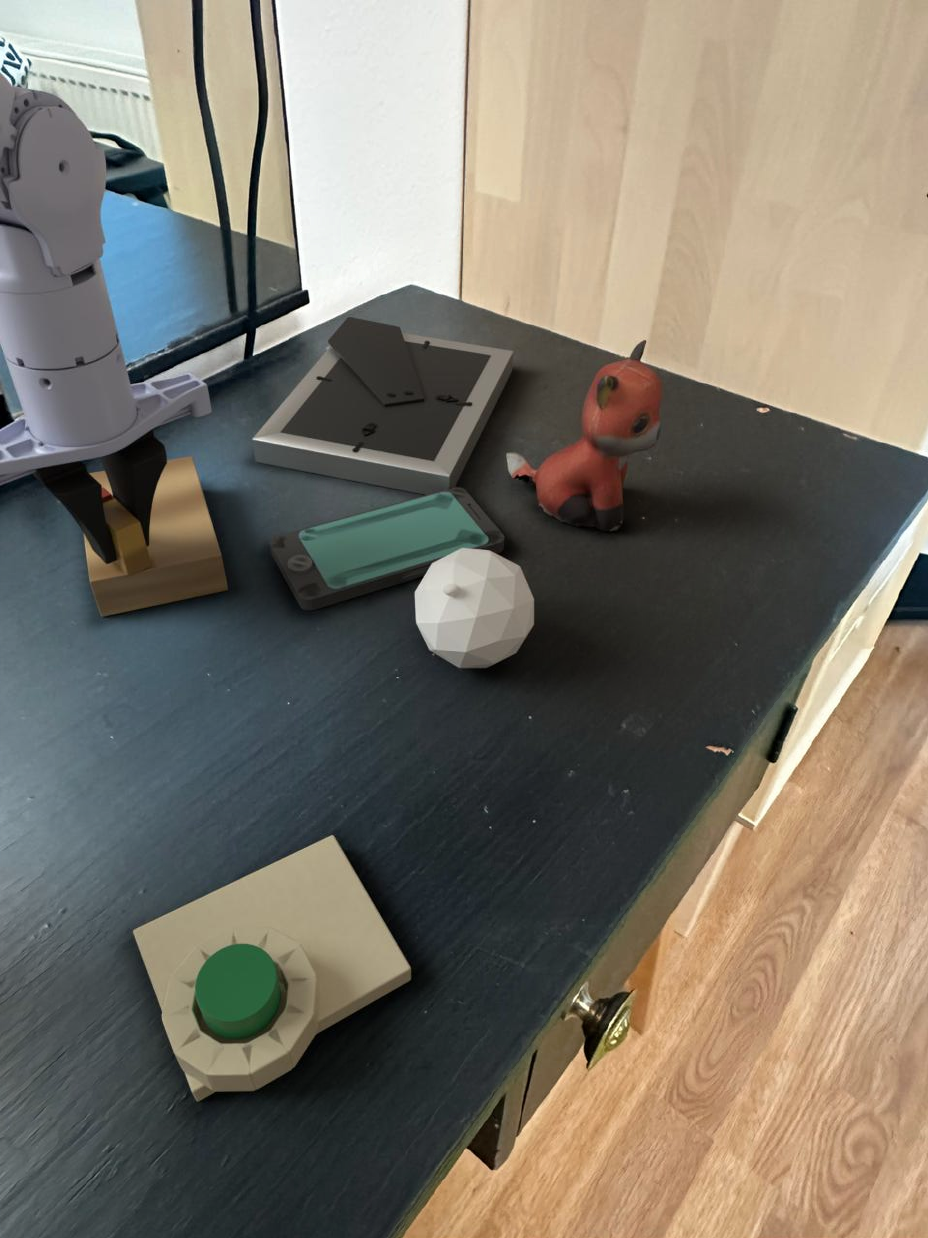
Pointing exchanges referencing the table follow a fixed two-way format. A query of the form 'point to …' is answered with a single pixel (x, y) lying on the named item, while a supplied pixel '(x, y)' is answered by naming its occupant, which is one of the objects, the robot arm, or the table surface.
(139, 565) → the thumb turn
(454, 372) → the picture frame
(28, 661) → the table surface
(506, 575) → the ornament
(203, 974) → the release button
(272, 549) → the smartphone
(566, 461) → the stuffed fox
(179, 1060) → the box
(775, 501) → the table surface
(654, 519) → the table surface
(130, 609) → the brown flat block
